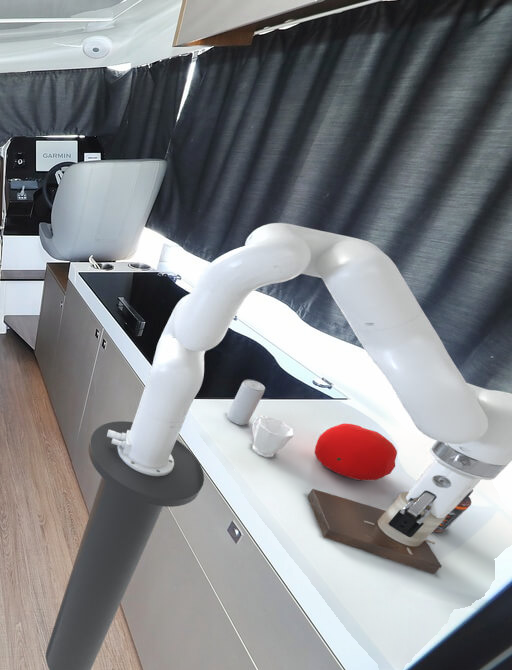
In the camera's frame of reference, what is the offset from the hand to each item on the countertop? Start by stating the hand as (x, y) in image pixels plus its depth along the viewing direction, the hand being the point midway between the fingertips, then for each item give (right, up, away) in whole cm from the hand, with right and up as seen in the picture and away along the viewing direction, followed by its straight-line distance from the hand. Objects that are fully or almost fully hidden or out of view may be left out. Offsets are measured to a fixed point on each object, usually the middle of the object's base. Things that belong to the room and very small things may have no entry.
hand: (408, 523), depth 80 cm
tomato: (+7, +4, +19) cm, 20 cm away
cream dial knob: (0, -3, +1) cm, 3 cm away
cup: (-8, +7, +25) cm, 27 cm away
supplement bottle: (+11, -3, +7) cm, 13 cm away
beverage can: (-7, +12, +33) cm, 36 cm away
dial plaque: (-4, -4, +4) cm, 7 cm away
